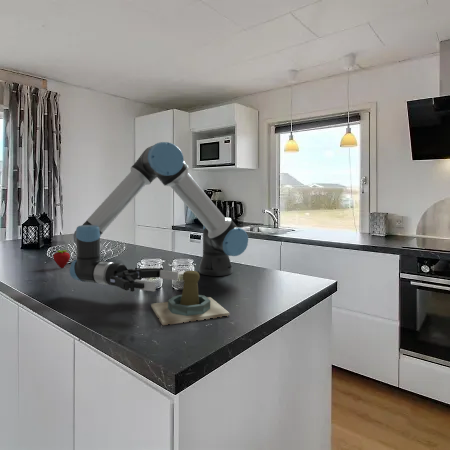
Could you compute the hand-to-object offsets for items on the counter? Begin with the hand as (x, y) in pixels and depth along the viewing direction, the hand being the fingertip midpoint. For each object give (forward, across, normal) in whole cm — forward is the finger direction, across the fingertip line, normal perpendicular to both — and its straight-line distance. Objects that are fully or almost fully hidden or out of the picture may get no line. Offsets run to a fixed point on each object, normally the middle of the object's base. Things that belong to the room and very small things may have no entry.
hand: (166, 281), depth 108 cm
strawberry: (-71, -26, -9) cm, 76 cm away
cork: (+7, -2, -8) cm, 11 cm away
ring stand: (+8, 0, -9) cm, 12 cm away
